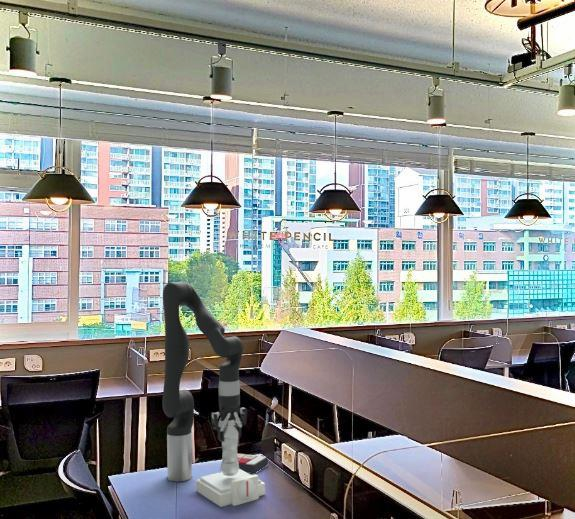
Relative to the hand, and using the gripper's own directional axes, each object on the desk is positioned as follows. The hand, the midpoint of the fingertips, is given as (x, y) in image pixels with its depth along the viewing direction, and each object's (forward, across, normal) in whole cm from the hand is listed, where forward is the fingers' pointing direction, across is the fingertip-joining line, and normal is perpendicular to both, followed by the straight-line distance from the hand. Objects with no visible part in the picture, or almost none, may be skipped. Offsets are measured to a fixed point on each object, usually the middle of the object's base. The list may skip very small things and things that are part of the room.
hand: (229, 439), depth 214 cm
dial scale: (+19, 0, +2) cm, 19 cm away
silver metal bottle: (+13, 0, 0) cm, 13 cm away
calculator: (+20, -19, -20) cm, 34 cm away
